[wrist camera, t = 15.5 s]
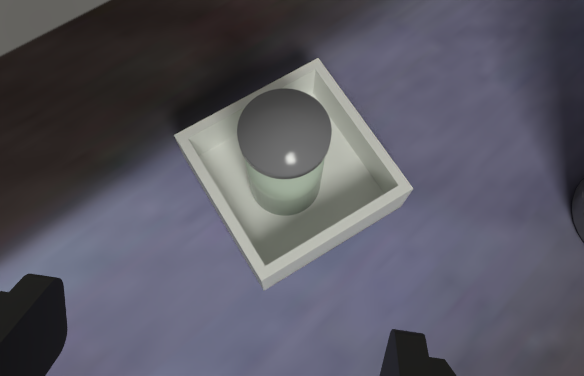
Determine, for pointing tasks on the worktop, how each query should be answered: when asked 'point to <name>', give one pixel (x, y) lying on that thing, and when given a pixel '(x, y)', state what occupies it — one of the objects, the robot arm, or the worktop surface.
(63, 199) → the worktop surface
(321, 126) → the jar
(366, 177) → the tray
